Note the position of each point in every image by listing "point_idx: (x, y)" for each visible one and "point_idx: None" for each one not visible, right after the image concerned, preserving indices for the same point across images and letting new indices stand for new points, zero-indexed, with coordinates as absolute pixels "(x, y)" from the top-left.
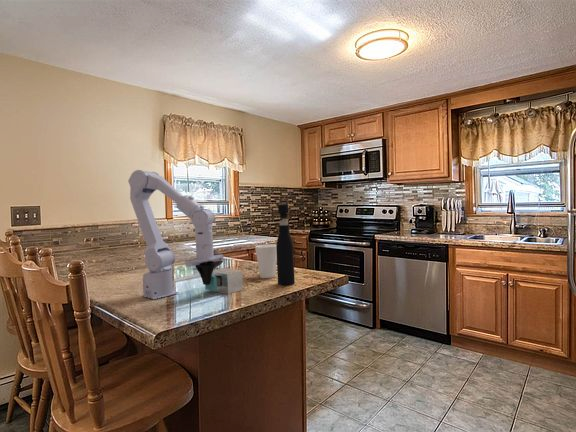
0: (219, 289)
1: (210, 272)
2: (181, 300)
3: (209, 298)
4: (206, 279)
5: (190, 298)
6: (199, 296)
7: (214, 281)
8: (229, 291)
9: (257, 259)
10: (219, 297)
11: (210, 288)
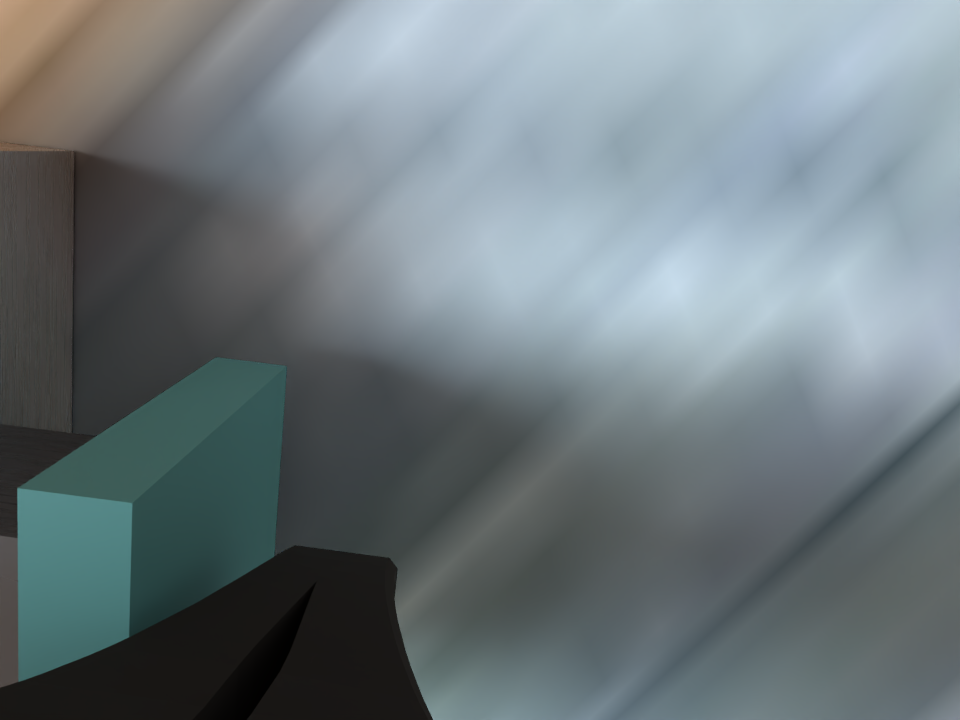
0: None
1: (153, 693)
2: (866, 712)
3: (526, 293)
4: (395, 623)
5: (688, 657)
6: (501, 599)
7: (187, 441)
8: (5, 146)
9: None
10: (369, 139)
11: (262, 532)
